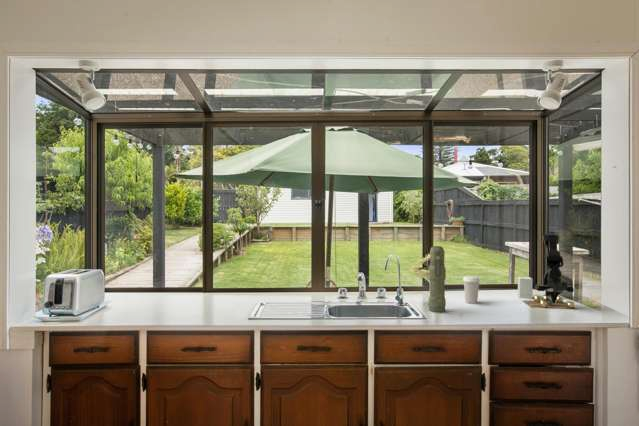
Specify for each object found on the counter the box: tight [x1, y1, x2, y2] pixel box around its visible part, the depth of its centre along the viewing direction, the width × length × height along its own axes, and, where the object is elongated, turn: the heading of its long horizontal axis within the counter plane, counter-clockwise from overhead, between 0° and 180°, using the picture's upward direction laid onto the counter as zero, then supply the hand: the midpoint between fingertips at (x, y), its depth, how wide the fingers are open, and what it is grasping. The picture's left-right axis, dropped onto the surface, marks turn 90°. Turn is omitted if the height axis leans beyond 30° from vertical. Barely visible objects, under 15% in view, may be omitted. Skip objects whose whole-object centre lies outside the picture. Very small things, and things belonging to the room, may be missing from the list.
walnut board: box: [522, 300, 579, 310], centre depth 230 cm, size 17×24×1 cm
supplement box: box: [517, 276, 534, 300], centre depth 250 cm, size 7×7×13 cm
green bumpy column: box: [428, 245, 447, 313], centre depth 220 cm, size 9×12×35 cm
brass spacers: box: [533, 294, 575, 310], centre depth 230 cm, size 16×17×4 cm
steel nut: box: [541, 298, 552, 306], centre depth 230 cm, size 5×5×3 cm
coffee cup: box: [462, 275, 481, 305], centre depth 238 cm, size 10×10×15 cm
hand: (553, 303), depth 229 cm, fingers closed
